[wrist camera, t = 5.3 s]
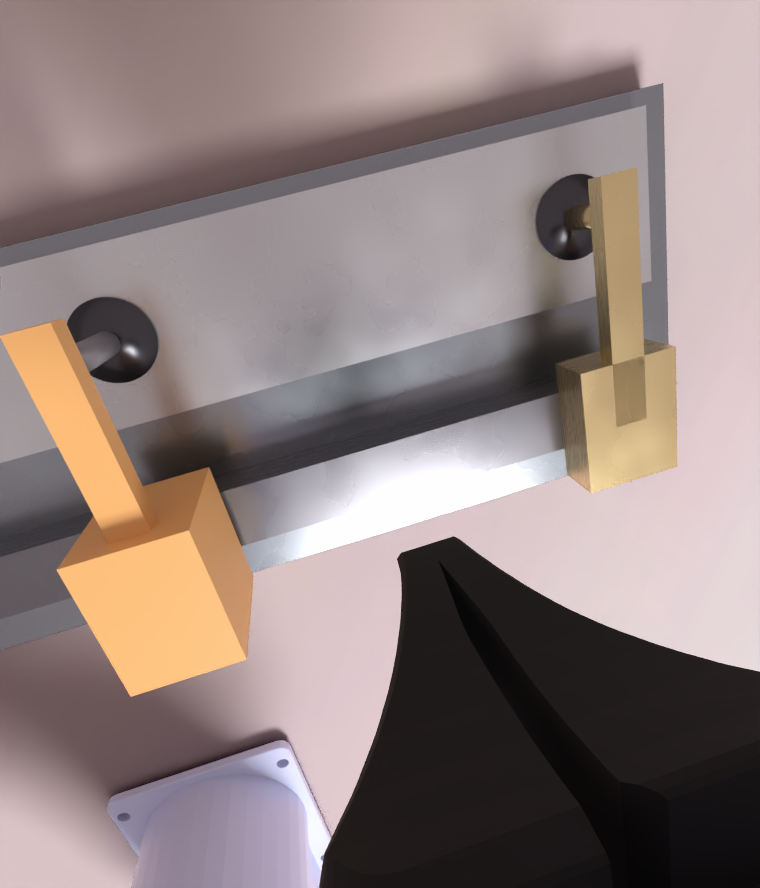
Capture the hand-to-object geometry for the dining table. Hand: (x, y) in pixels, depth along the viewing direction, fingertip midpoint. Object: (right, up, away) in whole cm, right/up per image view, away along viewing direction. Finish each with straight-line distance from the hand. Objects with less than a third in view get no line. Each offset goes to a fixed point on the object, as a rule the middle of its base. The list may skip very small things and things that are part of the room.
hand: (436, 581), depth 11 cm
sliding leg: (-8, +3, +4) cm, 9 cm away
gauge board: (-6, +5, +6) cm, 9 cm away
